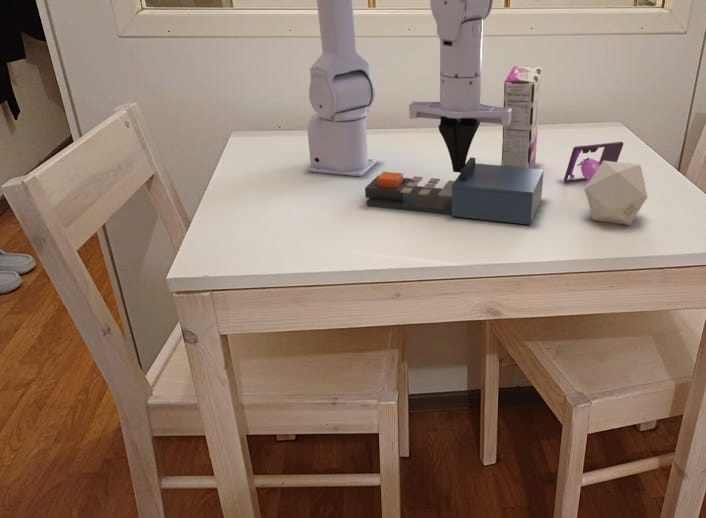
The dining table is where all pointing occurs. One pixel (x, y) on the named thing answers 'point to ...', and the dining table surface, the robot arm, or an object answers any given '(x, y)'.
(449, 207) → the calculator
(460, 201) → the cover
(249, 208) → the dining table surface
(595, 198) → the die
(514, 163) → the candy bar box
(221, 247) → the dining table surface
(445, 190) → the keypad
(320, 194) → the dining table surface
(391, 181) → the on key
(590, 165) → the purple piece
